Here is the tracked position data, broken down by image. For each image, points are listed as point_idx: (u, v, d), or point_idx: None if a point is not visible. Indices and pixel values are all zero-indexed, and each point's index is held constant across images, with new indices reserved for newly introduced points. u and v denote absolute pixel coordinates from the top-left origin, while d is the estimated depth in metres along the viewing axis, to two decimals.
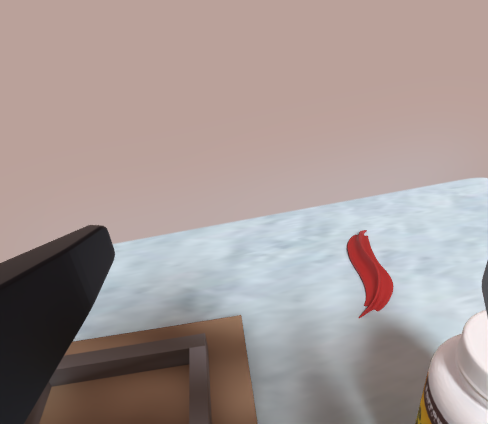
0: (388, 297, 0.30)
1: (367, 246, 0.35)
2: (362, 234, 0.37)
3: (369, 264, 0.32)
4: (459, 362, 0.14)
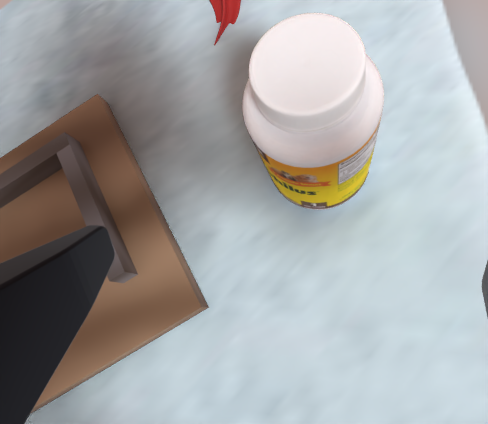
0: (237, 8, 0.27)
1: None
2: None
3: None
4: (254, 95, 0.14)
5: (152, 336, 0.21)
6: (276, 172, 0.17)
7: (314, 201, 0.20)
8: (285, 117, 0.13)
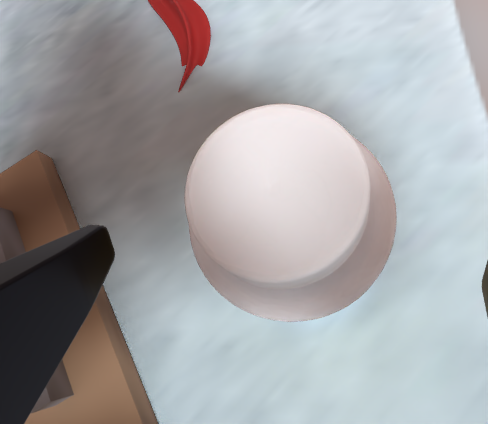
0: (207, 45, 0.22)
1: None
2: None
3: (171, 3, 0.22)
4: None
5: None
6: None
7: None
8: (240, 277, 0.08)
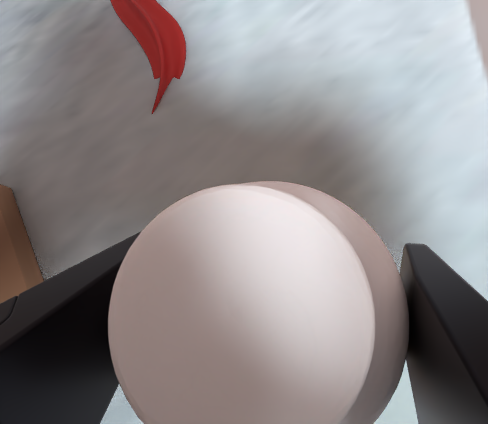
0: (182, 61, 0.19)
1: None
2: None
3: (141, 15, 0.19)
4: None
5: None
6: None
7: None
8: None
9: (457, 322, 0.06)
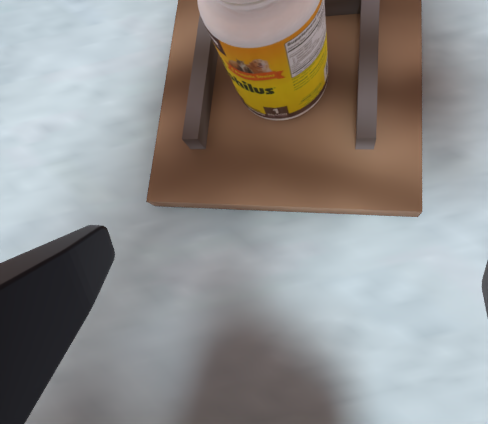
0: None
1: None
2: None
3: None
4: None
5: (358, 209, 0.21)
6: (233, 67, 0.19)
7: (275, 105, 0.21)
8: None
9: None
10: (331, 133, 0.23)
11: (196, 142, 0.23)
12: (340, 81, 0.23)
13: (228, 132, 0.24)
